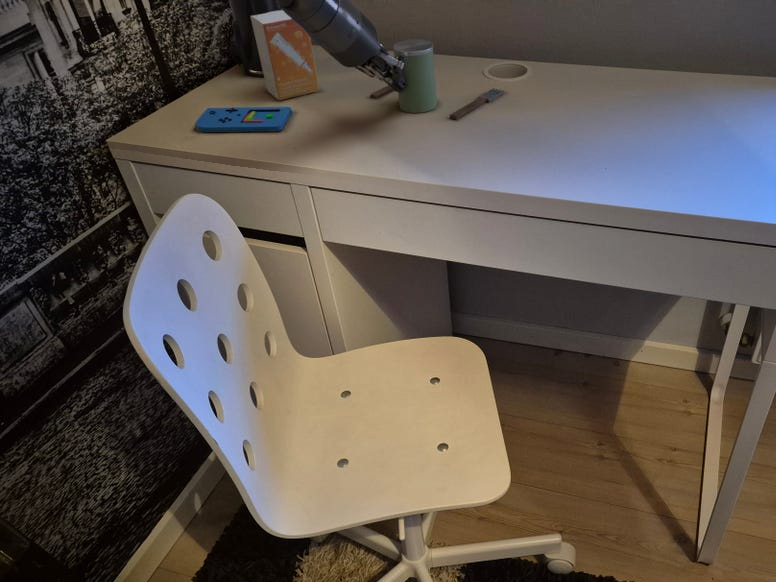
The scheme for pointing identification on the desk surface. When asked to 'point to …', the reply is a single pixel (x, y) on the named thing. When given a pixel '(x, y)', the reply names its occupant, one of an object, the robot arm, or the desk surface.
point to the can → (417, 75)
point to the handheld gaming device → (243, 119)
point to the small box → (285, 55)
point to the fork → (477, 103)
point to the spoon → (381, 92)
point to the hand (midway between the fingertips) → (401, 87)
